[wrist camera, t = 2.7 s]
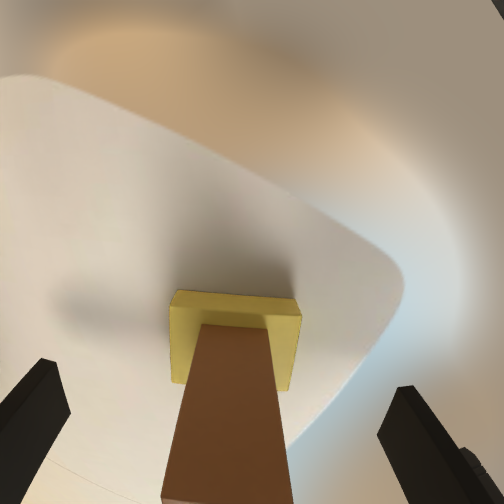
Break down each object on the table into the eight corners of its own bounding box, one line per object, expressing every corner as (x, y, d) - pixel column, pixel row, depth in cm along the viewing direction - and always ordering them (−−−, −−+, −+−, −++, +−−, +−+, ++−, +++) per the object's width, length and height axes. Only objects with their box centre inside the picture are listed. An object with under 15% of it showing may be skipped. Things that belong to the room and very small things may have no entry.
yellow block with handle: (295, 298, 16) (366, 482, 5) (284, 370, 17) (318, 547, 6) (177, 288, 15) (90, 465, 5) (177, 362, 16) (128, 536, 6)
